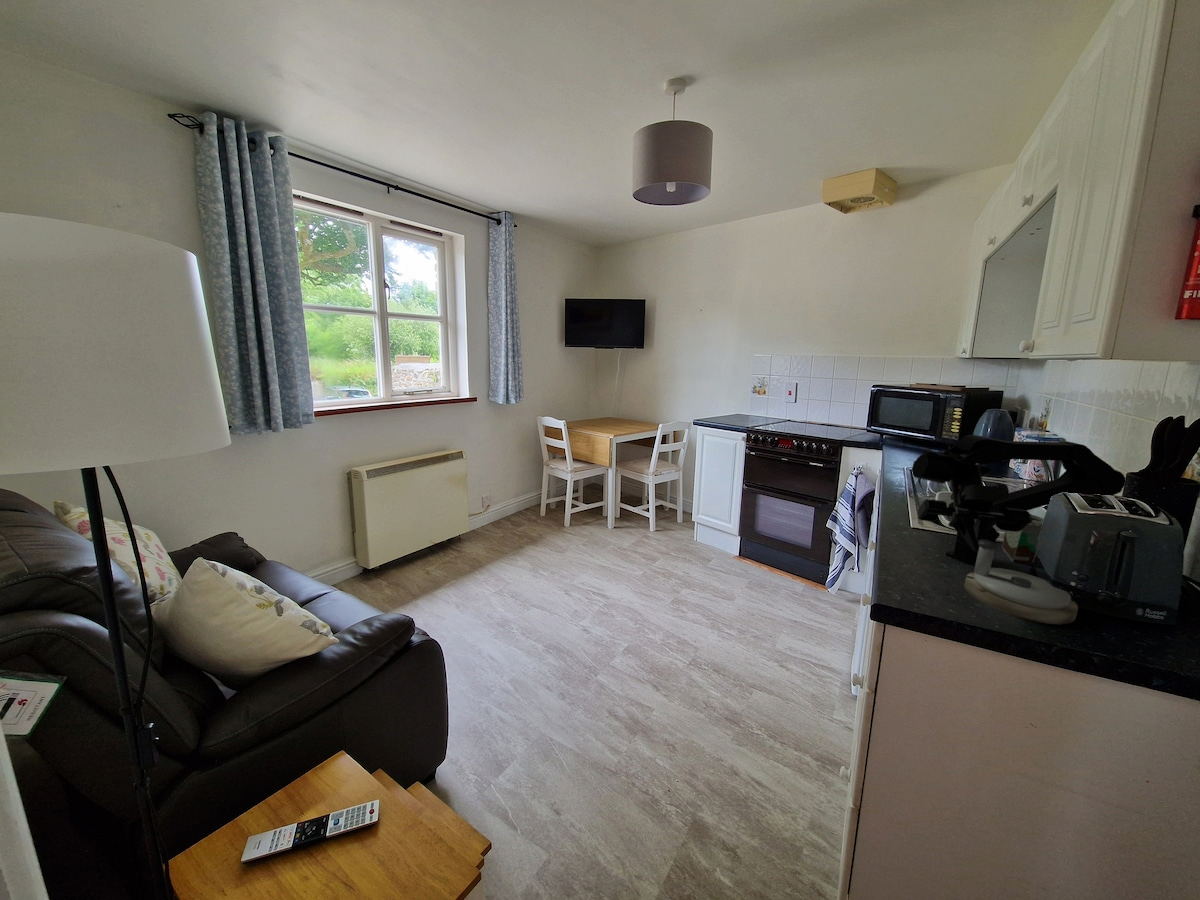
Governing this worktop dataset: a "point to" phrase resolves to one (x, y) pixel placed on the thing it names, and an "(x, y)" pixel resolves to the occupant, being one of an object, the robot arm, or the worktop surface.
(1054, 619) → the dial base
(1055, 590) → the dial
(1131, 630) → the worktop surface
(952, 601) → the worktop surface
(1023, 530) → the food container
